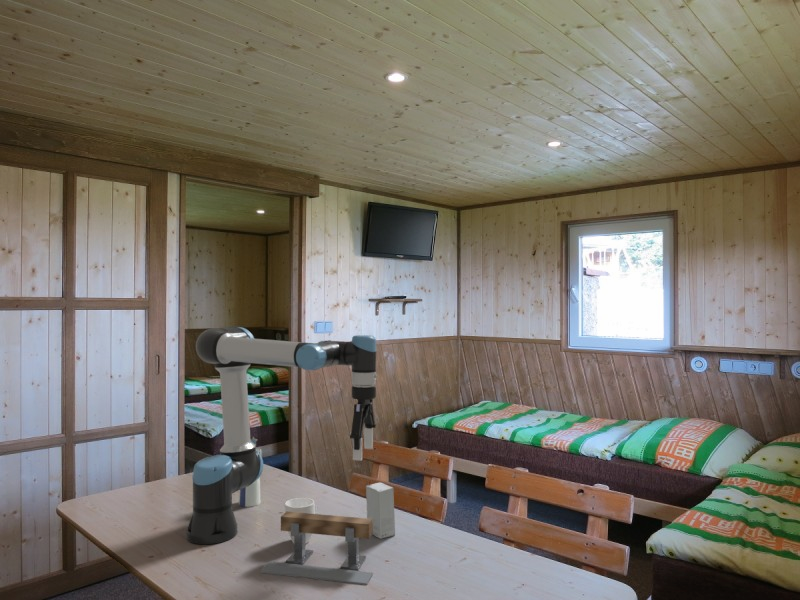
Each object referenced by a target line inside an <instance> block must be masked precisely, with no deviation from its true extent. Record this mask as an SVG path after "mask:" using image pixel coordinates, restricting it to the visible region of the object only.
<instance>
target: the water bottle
mask: <svg viewBox="0 0 800 600" xmlns="http://www.w3.org/2000/svg"><path fill="white" fill-rule="evenodd" d="M250 440H251V442H252V443H254V444H255V446H257V441H258V440H259V439H257V438H255V437H254V436H252V438H251V439H250ZM256 450H257V451H258V452H259V455H262V449H261V448H259V447H256ZM260 477H261V476H260ZM260 477H259V478H258V479H257V480H256V481H255V482H253V483H252V484H251V485H249V486H247V487H244V488H242V489H240V490H239V496H238V497H239V498H238V506H240V507H244V508H252V507H255V506H256V507H257V506H258V505H260V504H261V478H260Z"/></svg>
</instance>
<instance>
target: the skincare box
mask: <svg viewBox="0 0 800 600" xmlns="http://www.w3.org/2000/svg"><path fill="white" fill-rule="evenodd" d="M365 492H366V493H365V494H366V495H365V497H366V500H365V501H366V518H367V519H373V534H372V536H374V537H377V538H378V539H381V540H382V539H384V538H389V537H390V538H391V537H394V536H395V535H396V521H395V500H394V499H395V498H394V495H395V494H394V493H395V492H394V487H392V486H390V485H387V484H385V483H383V482H375V483H372V484H368V485H365Z"/></svg>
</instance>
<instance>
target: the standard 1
mask: <svg viewBox="0 0 800 600" xmlns="http://www.w3.org/2000/svg"><path fill="white" fill-rule="evenodd" d="M305 535H306V533H300V523H296V522H292V523H291V536H294V543H293V546H294V547H293V552H292V554H290V556H289V557H288V558H287V559H286V560H285V563H289V564H298V565H304V564H305V563H306V562H307V560H308V559H309V558H310V557H311V556H312V554H314V550H312V549H311V550H310V549H306V544H305Z"/></svg>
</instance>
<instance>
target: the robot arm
mask: <svg viewBox="0 0 800 600" xmlns="http://www.w3.org/2000/svg"><path fill="white" fill-rule="evenodd" d="M195 351H196V354H197V356H198V357H199V358H200V360H201V361H203V362H205V363H207V364H212V365H214V369H215V371H217V372H219V375H220V376H219V377H220V378H219V379H220V380H219V381H220V392H221V393H220V395H221V410H222V425H223V427H222V428H223V429H222V430H223V445H222V446H221V448H220V449H219V453H220V454H216V455H212V456H206V457H204V458H202V459H200V460H198V461H197V462H196V463H195V464H194V466H193V471H192V514H191V517H190V519H189V523H188V526H187V530H186V540H187V541H188V542H190V543H192V544H196V545H215V544H218V543H222V542H223V543H224V542H226V541H229V540H231V539H233V538H234V537H235V536H237V534H238V523H237V520H236V519H237V518H236V517H235V514H234V510H233V494H234V493H236V492H238V491H240V489H242V488H244V487H247V486H249V485H251V484H252V483H253V482H255V481H256V480H257V479H258V478H259V477H261V475H262V473H263V470H264V460H263V459H264V458H263V457H262V454H260V453H259V452H258V451H257V450H256V448H257V447H256V446H257V445H255V444H254V443H252V442H251V440H252V439H251V427H250V424H251V423H250V407H249V395H248V394H249V393H248V377H247V370H248V369H249V368H250V367H251V364H258V365H270V366H279V367H280V366H281V367H293V368H301V369H302V370H304V371H317V370H319V369H324V368H327V367H332V366H333V367H334V366H351V385H352V386H351V398H352V399H353V400H357V403H356V404H355V403H354V405H353V416H352V424H351V434H350V435H349V439H352V461H363V449H364V450H373V449H374V429H375V428H376V422H375V413H374V403H373V400H374V399H376V397H377V387H376V384H377V379H378V374H377V372H376V371H377V352H378V350H377V339H376V337H375V336H374V335H370V334H369V335H365V334H364V335H362V334H359V335H358V334H357V335H352V337H351V340H350V341H340V340H330V339H329V340H320V341H318V342H316V343H315V342H299V341H289V340H288V341H287V340H278V339H277V340H275V339H264V338H263V339H262V338H255V336H254V335H253V333H251V332H250V331H249V330H248V329H247V328H245V327H242V326H241V327H240V326H228V327H227V326H226V327H212V328H211V327H210V328H207V329H206V330H204V331H203V332H201V333H200V334H199V335H198V337H197V339H196V342H195ZM364 427H365V428H364ZM363 431H364V432H363ZM363 433H364V434H363ZM362 436H363V438H362ZM363 441H364V442H363Z"/></svg>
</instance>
